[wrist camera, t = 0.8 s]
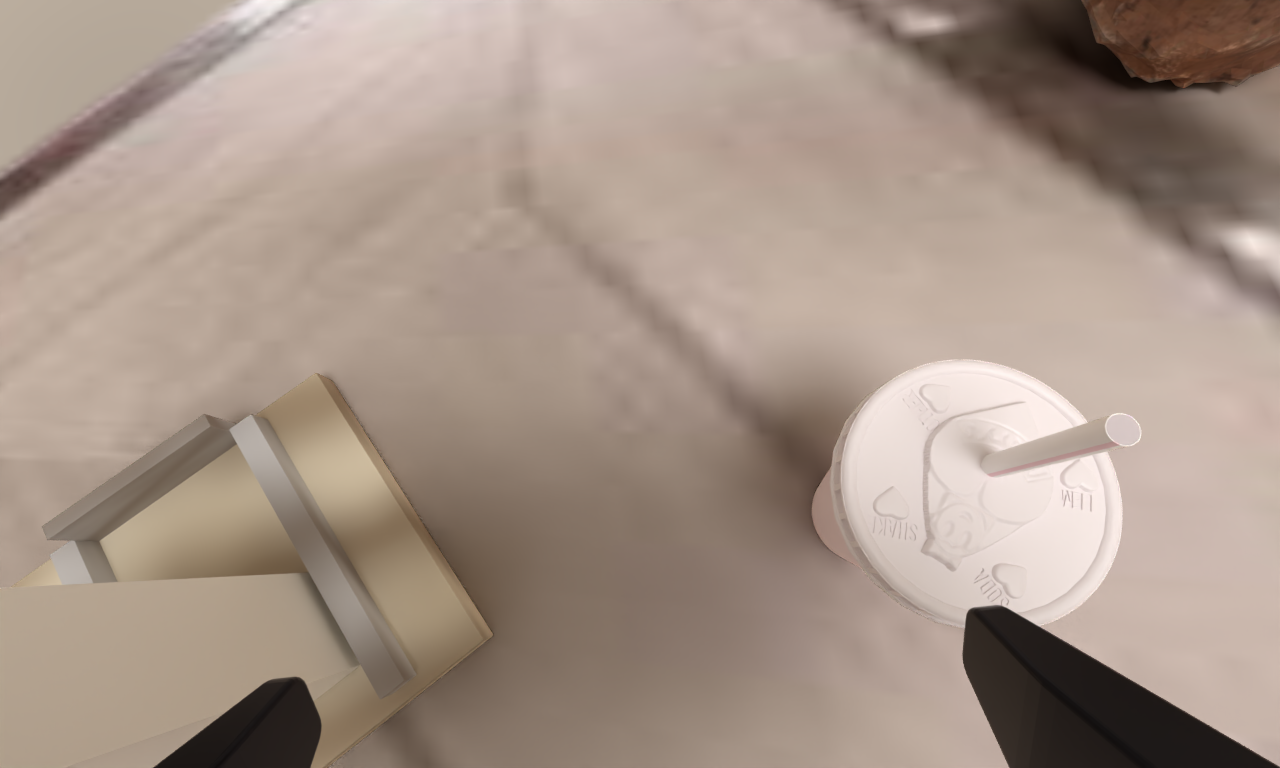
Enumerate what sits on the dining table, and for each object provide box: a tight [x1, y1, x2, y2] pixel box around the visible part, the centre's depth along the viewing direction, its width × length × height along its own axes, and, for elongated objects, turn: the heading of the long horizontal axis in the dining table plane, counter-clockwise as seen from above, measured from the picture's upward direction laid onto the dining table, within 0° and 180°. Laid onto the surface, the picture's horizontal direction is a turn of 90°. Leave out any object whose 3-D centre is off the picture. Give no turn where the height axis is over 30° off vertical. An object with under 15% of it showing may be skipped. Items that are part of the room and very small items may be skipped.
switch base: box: [11, 373, 494, 768], centre depth 22 cm, size 13×14×3 cm
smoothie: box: [812, 360, 1141, 629], centre depth 16 cm, size 6×6×14 cm
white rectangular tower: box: [0, 573, 360, 768], centre depth 14 cm, size 4×6×15 cm
